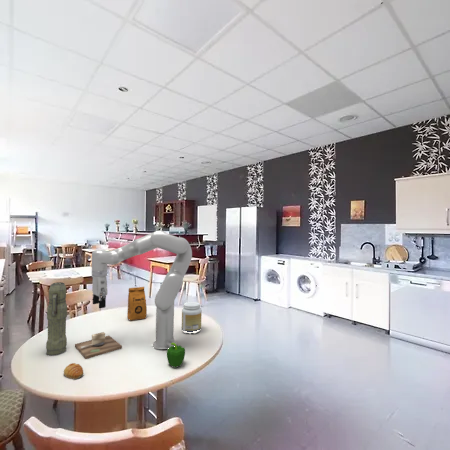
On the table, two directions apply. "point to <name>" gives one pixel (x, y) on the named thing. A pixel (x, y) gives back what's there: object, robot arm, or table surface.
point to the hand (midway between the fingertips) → (98, 305)
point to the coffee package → (136, 304)
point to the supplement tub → (191, 317)
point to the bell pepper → (175, 355)
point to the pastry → (73, 371)
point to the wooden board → (96, 351)
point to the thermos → (56, 319)
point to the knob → (97, 340)
